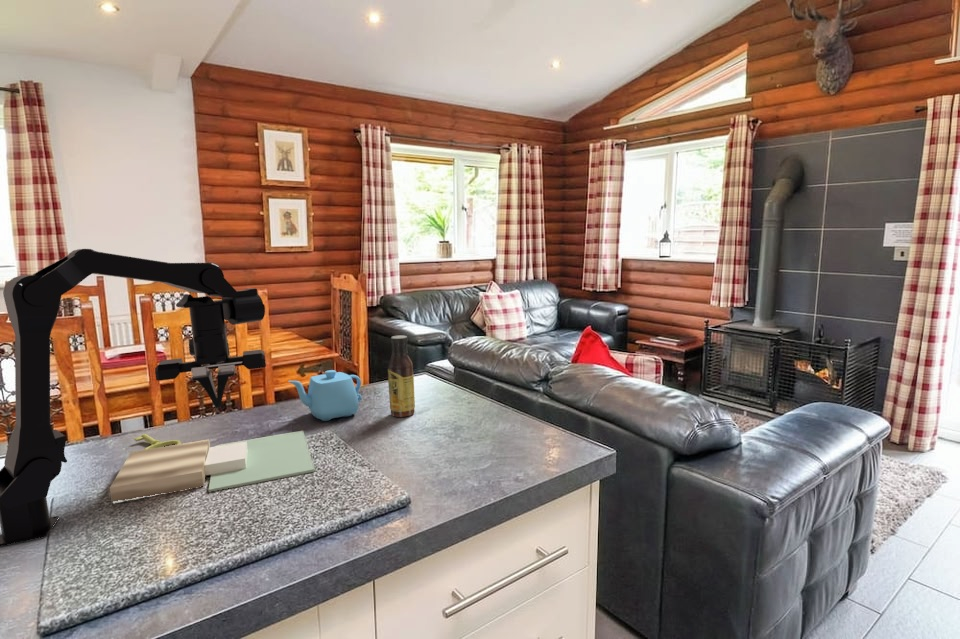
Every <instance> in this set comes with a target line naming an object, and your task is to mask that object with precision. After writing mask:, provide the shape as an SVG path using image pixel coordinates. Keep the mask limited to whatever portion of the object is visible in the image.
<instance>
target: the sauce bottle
mask: <svg viewBox="0 0 960 639" xmlns="http://www.w3.org/2000/svg"><path fill="white" fill-rule="evenodd" d="M408 341H409V340H408V336H407V335H400V334H399V335H393V336H391V337H390V343H391V356H390V359H389V363H388V367H387V379H388V380H387V381H388V396H389V409H390V415H391V416H392V417H395V418H405V417H410V416H412V415H414V414H415V412H416V411H415V406H416V401H415V398H416V397H415V377H414V375H415V374H414V369H413V368H414V366H413V361H412V359H411V358H410V356H409V355H408V353H409V352H408Z"/></svg>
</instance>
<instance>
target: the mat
mask: <svg viewBox="0 0 960 639" xmlns="http://www.w3.org/2000/svg"><path fill="white" fill-rule="evenodd" d="M246 441H247V449H248V452H247V463H246V468H245V469H239V470H234V471H228V472H222V473H217V474H211V475H210V480H209V486H208V493H212V492H211V491H214V492H218V491H217V490H219V491H223V490H222V489H224V490H227V489H228V488H229V489H234V488H237V487H243V485H244V486H248V485H253V484H259V483H263V482H268V481H273V480H280V479H283V478H288V477H294V476H298V475H299V476H300V475H305V474H309V473H313V472H315V467H314V462H313V460H312V457H311V453H310V449H309V447H308V443H307V439H306V436H305V433H304V430H299V431H293V432H287V433H280V434H274V435H269V436H264V437H263V436H262V437H256V438H251V439H244V440H239V441H234V442H233V441H232V442H227V443H221V444H216V445H215V446H221V445H227V444H234V443H240V442H246ZM233 487H234V488H233Z"/></svg>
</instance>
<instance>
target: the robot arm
mask: <svg viewBox="0 0 960 639" xmlns="http://www.w3.org/2000/svg"><path fill="white" fill-rule="evenodd" d="M91 275H101V276H107V277H115V278H123V279H124V278H125V279H129V280H139V281H147V282H153V283H160V284H161V283H162V284H165V285H167V286H171V287H173V288H176V289H179V290H183V291H187V292H189V293H193V294H194V293H195V294H204V295H206V296H197V297H194V296H193V295H192V294H188V293H185V294H183V297H182V298H181V299H180V300H179V301H177V303H175V306H176V307H177V308H180V309H181V308H182V309H183V308H184V309H185V308H187V309H189V316H190V318H189V319H190V325H191V331H192V333H191V334H192V338H190V339H188V350H189V352H188V353H189V355H190V356H192V357H193V356H194V357H195V361H194V360H193V361H186V362H185V361H183V359H182V357H181V358H174V359H173V358H172V359H165V360H164V359H163V360H161V361H160V362H159V363H158V364H157V365H156V366H155V368H154V373H155V374H154V375H155V381H168V380H175V379H176V378H177V377H178V376H179V375H180V374H181V373H189V372H191V374H192V376H191V381H194V382H195V381H198V383H199V384H200V385H201V386H202V388H203V389H204V390H205V392H206V394H207V395H208V396H209V398H210V399H211V400H210V401H211V402H212V404H213V406H214V407H215V409H219V408H221V406H222V402H223V396H224V392H225V388H226V385H227V383H228V380H229V378H230V377H233V376H235V375H236V367H240V366H243V367H245V368H246V369H247V370H256V369H263V368H266V367H267V364H266V356H265V351H263V349H253V350H245V351H243V352H242V355H238V356H232V357H231V354H230V345H229V343H228V342H229V341H228V340H227V331H226V330H227V329H226V322H225V321H227V322H229V324H230V325H231V326H232V325H233V326H235V325H242V324H247V323H254V322H261V321H263V319H264V317H265V315H266V305H265V303H264V302H263V299H262V298H261V296H260V295H259V294H258V289H257V288H256V287H255V288H245V289H242V290H236V289H235V288H234V287H233V286H232V285H231V283H230V282H229V281H227V279H226V278H225V275H224V272H223V270H222V269H221V267H220V266H219V265H217V264H215V263H212V262H165V261H161V260H153V259H147V258H140V257H135V256H134V257H133V256H127V255H121V254H115V253H108V252H102V251H97V250H94V249H91V248H79V249H74V250H72V251H71V252H69V253H68V254H67V255H66V256H64V257H62V258H61V259H58V260H57V261H55V262H53V263H52V264H49V265H47V266H45V267H43V268H41V269H40V270H38V271H37V272H35V273H33V274H23V275H18V276H15V277H13V278H11V279H10V280H9V281H7V282H6V284H5V285H4V287H3V292H2V293H3V294H2V295H3V299H4V304H5V307H6V311H7V315H8V318H9V321H10V324H11V327H12V330H13V333H14V351H15V352H14V360H15V361H14V362H15V364H14V366H15V368H14V372H15V377H14V378H15V380H14V381H15V382H14V383H15V384H14V385H15V390H14V392H15V393H14V394H15V425H14V428H13V430H12V433H11V435H10V438H9V440H8V444H7V449H6V452H5V453H6V454H5V458H4V466H3V467H1V469H0V531H1V534H0V547H4V546H5V547H6V546H10V545H14V544H20V543H24V542H29V541H34V540H38V539H44V538H46V537H48V535H49V534H50V533H51V531H52V530H53V528H54V527H53V525H54V524H55V522H56V521H57V519H58V518H59V519H60V517H59V515H54V516H50V511H49V506H48V499H47V496H48V494H49V489H50V487H51V486H50V485H51V484H52V483H51V482H53V480H54V479H55V478H57V477H58V476H59V475H60V472H61V471H62V467H63V466H62V465H63V463H65V464H66V463H67V462H68V460H67V458H66V455H65V448H66V444H67V443H66V442H67V436H66V435H65V434H63V433H61V431H59V430H58V429H53V428H52V425H51V333H52V330H53V329H54V328H53V327H54V325H55V323H56V321H57V320H56V319H57V317H58V314H59V310H60V304H61V301H62V300H61V299H62V295H65V294H66V293H67V292H69V291H70V290H72V289H73V288H75V287H76V286H77V285H78V284H80V283H82V281H84V280H85V279H86V278H87V277H89V276H91ZM212 297H218V298H219V297H221V299H215V300H214V299H213V298H212ZM215 369H217V371H218V373H217V380H216V381H217V382H216V383H217V387H216V386H215V384H214V379H213V376H212V375H213V374H212V370H215ZM216 388H217V391H216ZM57 522H58V521H57ZM55 525H56V524H55ZM55 525H54V526H55ZM52 527H53V528H52ZM51 529H52V530H51ZM50 530H51V531H50Z"/></svg>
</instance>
